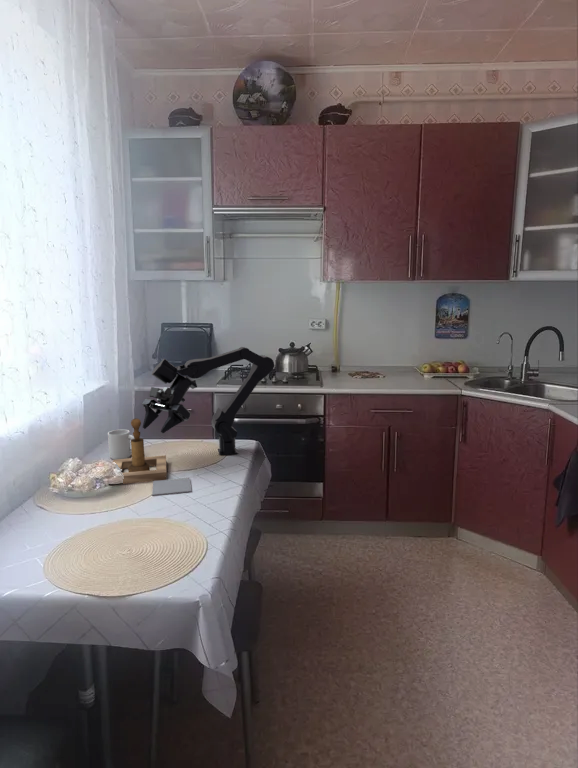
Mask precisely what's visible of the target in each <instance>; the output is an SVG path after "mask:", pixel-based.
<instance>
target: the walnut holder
mask: <svg viewBox="0 0 578 768" xmlns="http://www.w3.org/2000/svg"><path fill="white" fill-rule="evenodd" d="M113 462H115V463H116V464H117V465H118V467H119V468H120V469H122V471H124V470H128V467H129V466H130V465H131V464H132V457H131V458H130V457H128V458H126V459H116V460H114V459H112V463H113ZM145 462H146V463H147V464H149V466H152V467H155V468H156V469H150V470H149V471H138V472H122V473H123V475H124V479H123V484H122V485H124V484H127V485H128V484H137V483H138V484H139V483H146V482H147V483H149V482H153V481H159V480H168V479H167V478H168V477H167V476H168V475H167V474H168V473H167V472H168V471H167V455H166V454H165V455H164V454H163V455H155V456H153V455H152V456H145Z"/></svg>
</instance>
